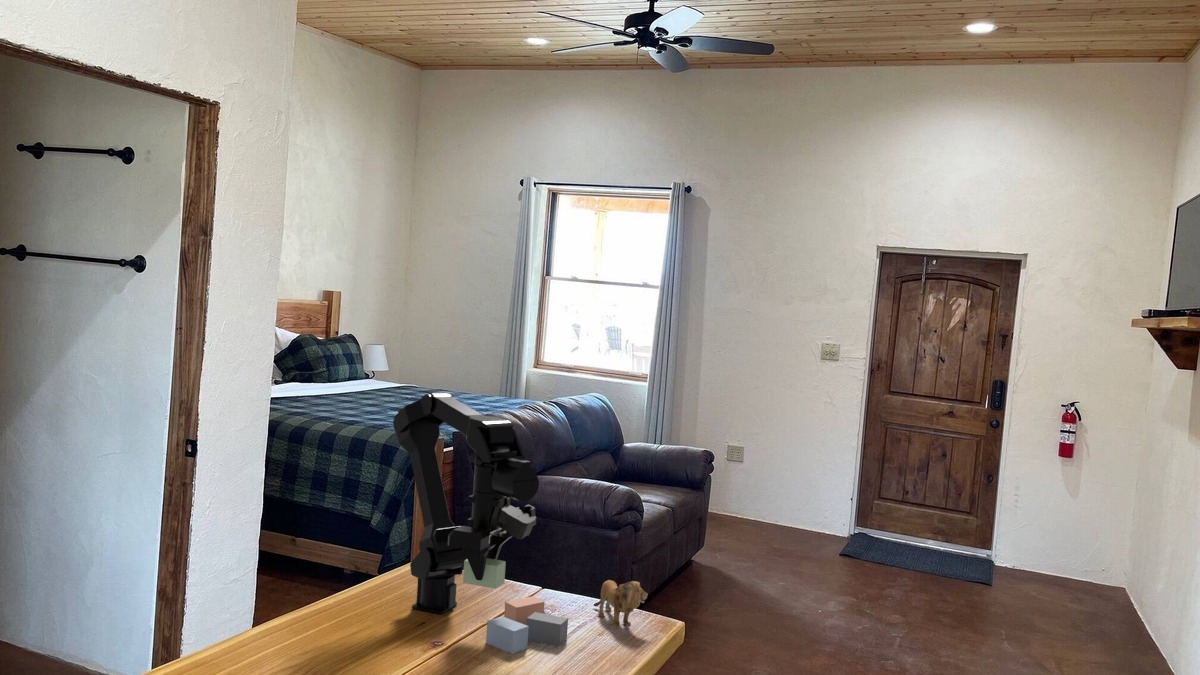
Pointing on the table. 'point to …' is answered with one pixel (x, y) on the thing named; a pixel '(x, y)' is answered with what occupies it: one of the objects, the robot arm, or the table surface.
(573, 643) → the table surface
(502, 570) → the green brick
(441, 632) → the table surface
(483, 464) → the robot arm
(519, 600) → the terracotta brick
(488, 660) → the table surface
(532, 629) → the charcoal brick
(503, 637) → the slate blue brick
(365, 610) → the table surface
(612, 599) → the lion figurine
